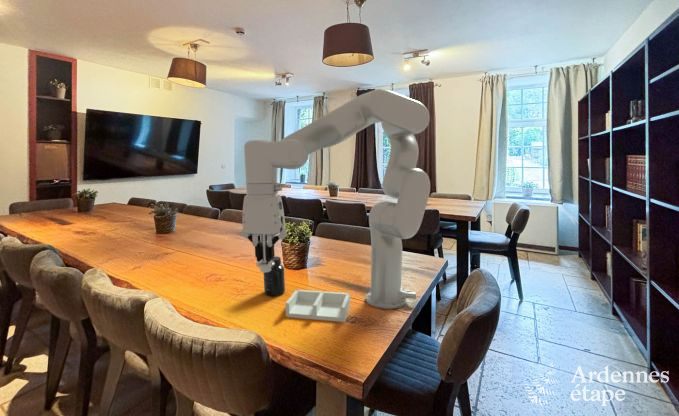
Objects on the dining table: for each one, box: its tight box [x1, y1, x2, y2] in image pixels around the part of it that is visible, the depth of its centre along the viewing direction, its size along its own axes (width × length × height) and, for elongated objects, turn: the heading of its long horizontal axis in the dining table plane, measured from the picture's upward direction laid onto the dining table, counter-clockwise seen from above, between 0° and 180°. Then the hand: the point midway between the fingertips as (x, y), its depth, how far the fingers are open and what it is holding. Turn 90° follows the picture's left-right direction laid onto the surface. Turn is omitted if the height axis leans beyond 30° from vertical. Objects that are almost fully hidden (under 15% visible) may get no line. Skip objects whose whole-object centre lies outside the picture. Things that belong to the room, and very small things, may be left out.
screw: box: [255, 235, 275, 273], centre depth 87 cm, size 13×5×5 cm
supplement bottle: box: [262, 256, 286, 297], centre depth 111 cm, size 7×7×12 cm
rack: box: [285, 289, 351, 323], centre depth 98 cm, size 17×10×4 cm, turn 80°
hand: (265, 259), depth 87 cm, fingers closed on screw, 2 cm apart
